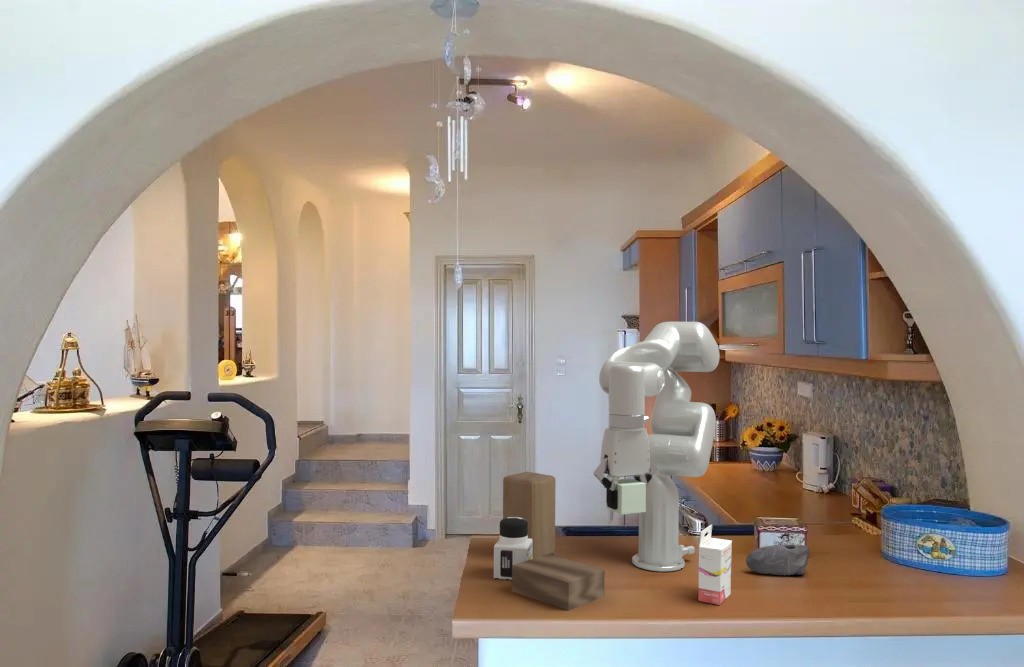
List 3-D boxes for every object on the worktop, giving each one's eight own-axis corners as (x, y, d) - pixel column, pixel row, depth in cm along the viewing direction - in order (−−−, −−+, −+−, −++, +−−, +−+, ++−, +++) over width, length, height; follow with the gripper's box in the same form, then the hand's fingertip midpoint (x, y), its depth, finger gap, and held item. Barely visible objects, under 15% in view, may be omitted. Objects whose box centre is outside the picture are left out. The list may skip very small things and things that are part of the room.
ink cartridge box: (721, 606, 157) (721, 535, 157) (697, 601, 160) (698, 531, 160) (732, 593, 165) (732, 526, 165) (709, 589, 167) (710, 523, 167)
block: (500, 555, 191) (501, 475, 191) (526, 546, 199) (526, 470, 199) (531, 563, 185) (532, 481, 185) (556, 554, 193) (557, 475, 192)
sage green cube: (629, 505, 166) (630, 478, 166) (645, 511, 160) (645, 483, 160) (606, 508, 163) (606, 480, 163) (621, 514, 158) (621, 485, 158)
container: (526, 581, 172) (527, 524, 171) (493, 579, 173) (493, 522, 173) (532, 571, 179) (533, 516, 179) (500, 568, 181) (501, 514, 181)
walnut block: (548, 580, 174) (548, 553, 174) (604, 597, 163) (604, 569, 163) (511, 592, 165) (512, 565, 165) (568, 612, 154) (568, 582, 154)
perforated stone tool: (747, 576, 176) (748, 546, 176) (743, 569, 182) (743, 540, 182) (814, 579, 175) (814, 549, 175) (807, 572, 180) (808, 542, 180)
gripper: (649, 418, 169) (649, 499, 169) (582, 422, 162) (581, 506, 162) (670, 422, 162) (669, 506, 162) (600, 426, 155) (600, 514, 155)
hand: (625, 505), depth 162 cm, fingers closed on sage green cube, 6 cm apart
